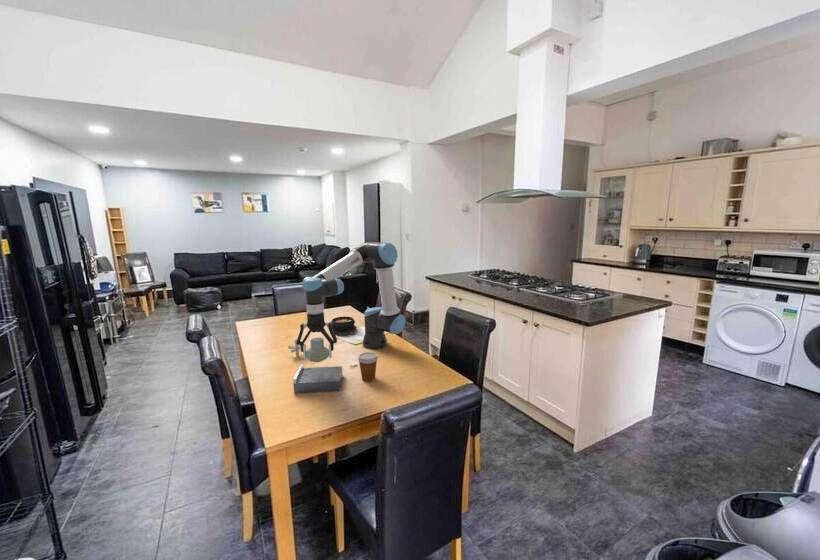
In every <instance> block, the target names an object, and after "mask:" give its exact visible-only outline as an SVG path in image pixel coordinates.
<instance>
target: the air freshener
mask: <svg viewBox="0 0 820 560" xmlns="http://www.w3.org/2000/svg"><path fill="white" fill-rule="evenodd" d="M328 358H329V347H327V346H325V343H324V338H322V337H313V338H311V339H310V348H307V349H306V359H307V360H308V361H310V362H314V363H321V362H323V361H325V360H327V359H328Z"/></svg>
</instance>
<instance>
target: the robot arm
mask: <svg viewBox="0 0 820 560" xmlns="http://www.w3.org/2000/svg"><path fill="white" fill-rule="evenodd" d="M398 254H399V253H398V250H397V247H396V246H395V245H394V244H393V243H390V242H385V241H366V242H363V243H362V244H360V245H357V246H355V247H353V248H352V249H350V251H349V253H348V254H347V255H345V256H343V257H342V258H340V259H338V260H337V261H336V262H334V263H332V264H331V265H329V266H328V267H326V268H324V269H322V270H321V271H320V272H318V273H317V274H315V275H313V276H306V277H305V278H304V279H303V280H302V281H301V282H302V283H301V285H302V288H303V290H304V291H305V300H306V301H305V303H306V323H305V322H301V324H300V326H299V327H300V329H299V333H298V337H297V338H296V339H297V343H296V344H297V345H300V346H301V350H300V352H301V353H303V360H306V359H307V358H306V352H307V344H306V343H305V342H306V341H307V340H308V338H309V336H310V334H311V333H321V334H322V335H323V336H324V338H325V340H326V341H327V342H328V343H329V344H328V349H329V357H328V358H329V359H331V358H332V357H333V355H332V354H333V351H334V348H335V346H334V344H337V343H338V338H337V336H336V333H335V332H334V331H333V329H332V323H331V321H329V322H326V321H325V312H324V311H325V309H324V299H325V298H328V297H333V296H337V295H340V294H342V293H343V292H344V290H345V287H344V286H345V284H344V282H343V281H342V280H341V279H340V278H341V276H343V275H345V274H346V273H347V272H349V271H350V270H352V269H354V268H355V267H356V266H361V265H362V264H366V263H371V264H372V265H373V269H375V271H376V274H377V279H378V280H377V281H378V287H379V293H380V294H379V295H380V300H381V306H377V307H376V306H375V307H369V308H367V309H366V310H365V311H364V317H363V318H364V336H363V338H362V339H363V340H362V346H363V347H364V348H366V349H369V350H371V349H372V350H376V349H377V350H378V349H383V348H384V347H387V345H388V340H387V337H386V334H385V333H390V334H392V335H399V334H401V332H402V331H403V330H404V328H405V325H406V317H405V315H403V314H401V309H400V308H399V307H398V304H397V297H396V290H395V289H396V288H395V280H394V273H393V268H394V266H395V263H396V262H397V261H398V257H399V256H398ZM306 327H307V329H308V331H307V333H306V335H305V336H304V338H303V339H302V337H303V333H304V330H305V329H306ZM325 327H327V328H328V331H329V333H328V331H326V329H325ZM329 334H330V335H329ZM301 340H302V341H301Z"/></svg>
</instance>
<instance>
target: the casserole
mask: <svg viewBox="0 0 820 560" xmlns="http://www.w3.org/2000/svg"><path fill="white" fill-rule="evenodd" d="M330 322H331V323H332V329H333V331H334V333H335V334H338V335H350V334H353V333H355V332H357V328H358V327H357V325H355V323H356V320H355V319H354V318H353V317H351V316H337V317H334V318H332V319H331V321H330Z"/></svg>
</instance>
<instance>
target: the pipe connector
mask: <svg viewBox="0 0 820 560" xmlns="http://www.w3.org/2000/svg"><path fill="white" fill-rule="evenodd" d="M297 339H298V338H295V339H294V345H288V346H287V349H289V350H290V352H291V353H292V354H293V353H295V357H296V356H298V357H300V351H301V346H300V345H297V344H296V343H297Z"/></svg>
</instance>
